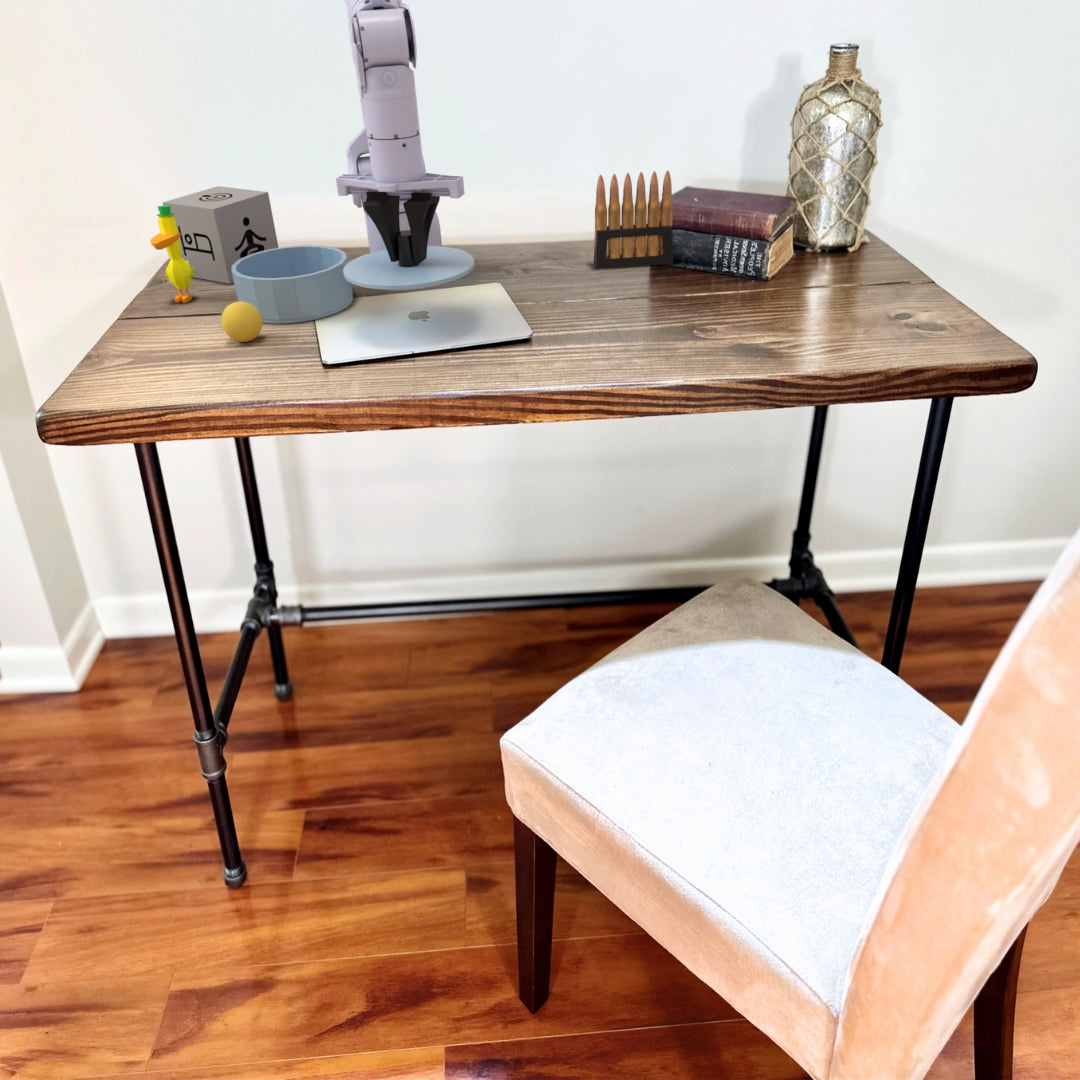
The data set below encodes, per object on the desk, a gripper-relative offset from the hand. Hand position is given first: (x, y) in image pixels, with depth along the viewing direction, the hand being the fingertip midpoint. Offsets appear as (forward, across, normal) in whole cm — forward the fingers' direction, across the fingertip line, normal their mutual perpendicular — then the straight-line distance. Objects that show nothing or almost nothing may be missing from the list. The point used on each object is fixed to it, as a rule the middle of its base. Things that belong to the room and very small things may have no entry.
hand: (408, 259), depth 112 cm
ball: (+5, -18, -8) cm, 21 cm away
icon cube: (+8, -35, +17) cm, 40 cm away
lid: (+1, 0, 0) cm, 1 cm away
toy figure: (+8, -34, +4) cm, 35 cm away
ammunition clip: (+8, +21, +26) cm, 35 cm away
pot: (+8, -18, +4) cm, 20 cm away
